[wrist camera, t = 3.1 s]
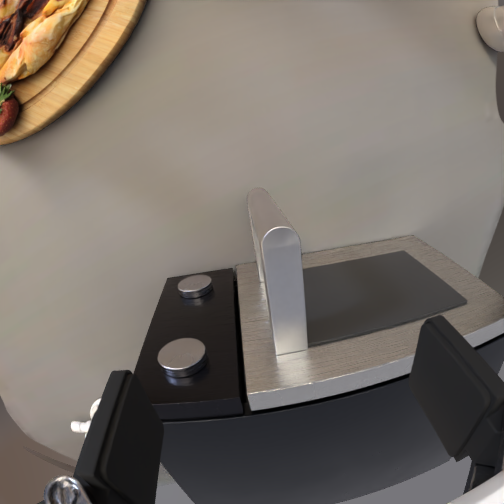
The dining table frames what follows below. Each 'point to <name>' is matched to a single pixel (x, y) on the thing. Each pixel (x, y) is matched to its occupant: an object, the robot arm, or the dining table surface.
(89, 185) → the dining table surface
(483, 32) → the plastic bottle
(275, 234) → the microwave door
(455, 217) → the dining table surface
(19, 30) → the wooden plate
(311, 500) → the microwave
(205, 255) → the dining table surface
